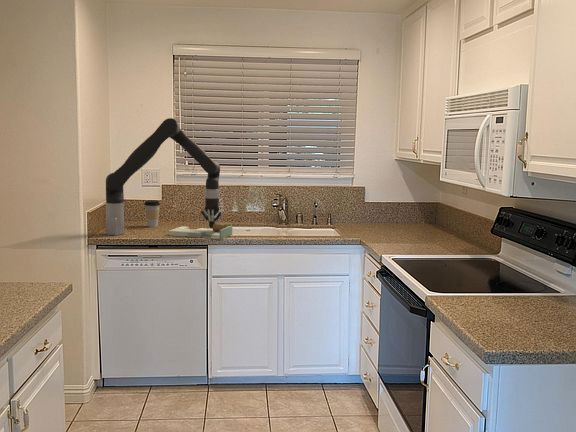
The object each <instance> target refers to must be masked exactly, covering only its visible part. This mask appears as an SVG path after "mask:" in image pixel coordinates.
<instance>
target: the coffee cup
mask: <svg viewBox="0 0 576 432" xmlns="http://www.w3.org/2000/svg"><path fill="white" fill-rule="evenodd" d="M143 206H144V207H145V218H146V225H147V228H157V227H158V226H159V225H158V224H159V218H160V206H161V203H160V200H145V202H144V203H143Z"/></svg>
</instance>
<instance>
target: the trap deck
mask: <svg viewBox="0 0 576 432" xmlns="http://www.w3.org/2000/svg"><path fill="white" fill-rule="evenodd" d="M168 236H175V237H185V236H188V237H187V238H197V237H202V238H201V239H209V238H211V237H212V238H213V239H212V240H223V239H225V238H224V237H226V238H228V237H231V236H233V225H229V226H227V227H226V228H224V229H221V230H220V232H217V231H215V232H214V231H213V228H205V227H204V228H203V227H200V228H196V229H191V228H190V227H189V226H179V227H176V228H173V229H170V230H168ZM227 236H228V237H227Z"/></svg>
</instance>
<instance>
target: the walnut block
mask: <svg viewBox="0 0 576 432" xmlns="http://www.w3.org/2000/svg"><path fill="white" fill-rule="evenodd" d="M226 227H228V223H224V222H222V223H221V222H216V223H215V224H213V228H212V229H213V231H214V232H215V231H217V232H220V230H221V229H224V228H226Z"/></svg>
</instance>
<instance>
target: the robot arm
mask: <svg viewBox="0 0 576 432" xmlns="http://www.w3.org/2000/svg"><path fill="white" fill-rule="evenodd" d="M169 138H170V139H171V140H172V141H175V142H176V143H177V144H178V145H180V147H182V148H183V149H184V150H185V152H186V153H187V154H188V155H189V156H191V158H192V159H194V160H195V161H196V162H197V163H198V164H199V166H200V167H201V168H202V169H203V171H204V172H206V173H207V178H206V180H205V192H204V193H205V194H204V195H205V199H204V202H205V203H204V204H205V205H204V209H203V210H201V211H200V214H201V215H202V216H203V218H204V219H205V220H206V221H208V227H209V229H213V224H216V223H215V222H216V221H218V220H219V219H220V218H221V217H222V216H223V214H224V212H223V211H221V210H220V207H219V206H220V191H219V189H220V187H219V186H220V185H219V184H220V183H219V180H220V175H221V174H220V173H221V165H220V163H219V162H218V161H216V160H212V159H211V157H209V156H208V154H207V152H206V151H205V150H204V149H203V148H202V147H201V146H199V145H198V144H197V143H196V142H195V141H193V140H192V139H190V138H189V137H188V136H187V135H186V134H185V132H184V131H183V130H182V129H181V127H180V125H179V123H178V121H177V120H176V119H174V118H172V117H170V118H165V119H164V120H163V121H162V122H161V123H160V124H159V126H158V127H157V128H156V130H155V131H154V132H152V133H151V135H150V136H148V137H147V138H146V139H145V140H144V141H143V142H142V143H141V144H139V145H138V146H137V147H136V149H133V151H132V152H131V154H130V155H129V156H128V157H127V158H126V160H125V161H124V163H123V164H121V166H120V167H118V168H117V169H116V170H115V171H114V172H111V173H109V174H108V175H107V176H106V178H105V209H106V210H105V213H106V214H105V215H106V216H105V235H107V236H108V235H109V236H119V235H124V234H125V210H124V209H125V206H124V205H125V202H124V201H125V198H124V197H125V195H124V194H125V193H124V185H125V184H126V182H128V180H129V179H130V178H131V177H132V176H133V175H134V174H135V173H136V172H138V171H139V170H140V169H141V168H143V167H144V166H145V165H147V163H148V162H149V161H150V160H151V159H152V158H154V156H155V154H156V153H157V152H158V150H159V148H160V147H161V145H162V144H163V143H165V141H166V140H168V139H169Z"/></svg>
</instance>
